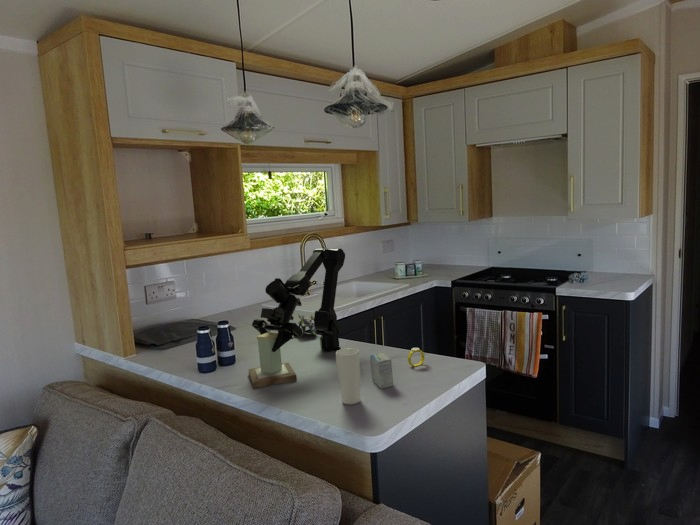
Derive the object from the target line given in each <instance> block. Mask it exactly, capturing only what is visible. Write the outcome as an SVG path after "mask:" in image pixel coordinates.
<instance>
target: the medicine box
mask: <svg viewBox="0 0 700 525" xmlns="http://www.w3.org/2000/svg"><path fill="white" fill-rule="evenodd" d="M369 356H370V358H369V359H370V369H371V371H370V372H371V380H372V382H374V384H375V385H377V387H379V388H380V389H387V388H390V387H393V386H394V375H393V364H392V362H393V361H392V359H391V358H390V357H389V356H387V355H386V354H384V353H383V352H378V353H373V354H370V355H369Z"/></svg>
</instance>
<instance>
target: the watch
mask: <svg viewBox="0 0 700 525" xmlns="http://www.w3.org/2000/svg"><path fill="white" fill-rule="evenodd" d="M418 352H420V355H421V358H420V361H419V362H418V363H416V364H413V362H412V356H413V354H414V353H418ZM425 359H426V358H425V353H424V351H423V350H421V349H420V348H419V347H412V348H411V349H410V352H409V353H408V356H407V362H408V364H409V365H410V366H411V367H413V368H416V367H419V366H422V365H423V363H424V361H425Z"/></svg>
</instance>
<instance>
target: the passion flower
mask: <svg viewBox="0 0 700 525" xmlns="http://www.w3.org/2000/svg"><path fill="white" fill-rule="evenodd" d="M298 318H299V319H300V320H299V321H298V322H297V323H298V326H299V327H300V328H301V329H302V331H303V333H305V332H306V331H307V330H306V328H308V329H309V332H310V333H311V335H313V336H316V335H317V333H316V332H315V331H316V329H315V326H314V321H313V320H314V315H312V314H311V315H309V318H308V317H307V316H306V315H303V314H302V316H301V314H298Z"/></svg>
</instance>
